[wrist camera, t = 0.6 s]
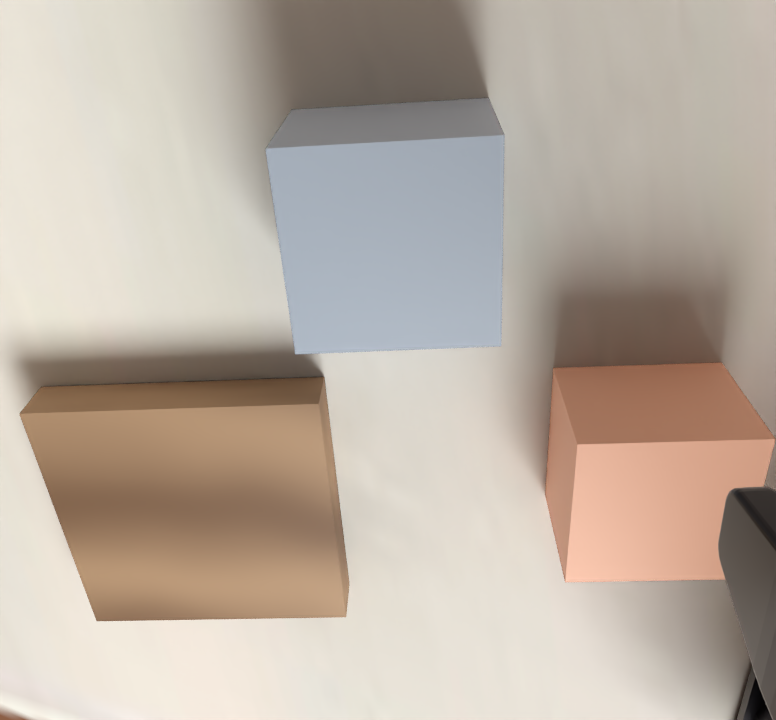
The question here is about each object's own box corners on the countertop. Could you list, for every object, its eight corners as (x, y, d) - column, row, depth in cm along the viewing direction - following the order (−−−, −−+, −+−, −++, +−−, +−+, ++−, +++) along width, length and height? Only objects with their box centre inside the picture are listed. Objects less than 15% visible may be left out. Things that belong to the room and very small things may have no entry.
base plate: (349, 584, 27) (345, 617, 26) (111, 588, 28) (96, 620, 27) (324, 376, 23) (318, 403, 22) (41, 386, 23) (19, 413, 22)
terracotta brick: (695, 489, 25) (740, 578, 21) (544, 492, 25) (565, 582, 22) (720, 360, 22) (775, 439, 19) (552, 365, 23) (577, 444, 19)
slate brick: (487, 278, 21) (501, 346, 18) (314, 286, 22) (295, 354, 18) (487, 96, 19) (504, 134, 15) (292, 108, 19) (265, 148, 16)
